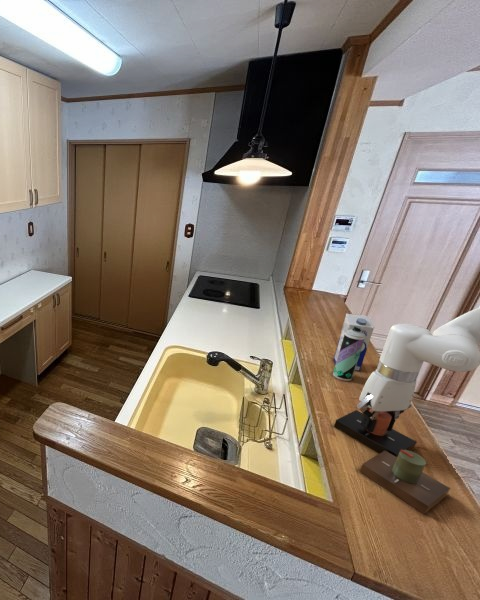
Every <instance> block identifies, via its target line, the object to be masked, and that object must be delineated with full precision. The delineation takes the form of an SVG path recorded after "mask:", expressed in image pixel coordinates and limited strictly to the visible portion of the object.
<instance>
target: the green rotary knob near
mask: <svg viewBox="0 0 480 600" xmlns="http://www.w3.org/2000/svg"><path fill="white" fill-rule="evenodd" d="M426 466H427V461H426V459H425V458H424V457H423V456H421V455H420V454H418V453H416V452H415V451H412V450H411V451H408V450H400V452H399V454H398V456H397V459H396V461H395V464H394V466H393V468H392V472H393V473H394V475H395V476H397V477H398V478H399V479H401V480H403V481H405V482H408V483H417V482H418V480H419V478H420V476H421V474H422V472H423V473H424V469H425V468H426Z"/></svg>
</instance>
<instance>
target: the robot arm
mask: <svg viewBox="0 0 480 600" xmlns="http://www.w3.org/2000/svg"><path fill="white" fill-rule="evenodd" d="M479 346H480V307H477V308H474V309H472V310H469V311H467V312H465V313H463V314H461V315H459V316H457V317H455V318H453V319H452V320H449V321H448V322H446V323H444V324H442V325H441V326H439V327H437V328H436V329H434V331H432V332H431V330H429V329H427V328H426V327H423V326H420V325H416V324H410V323H405V322H404V323H402V322H401V323H396V324H393V325H392V326H391V327H390V329H389V331H388V334H387V337H386V339H385V343H384V345H383V348H382V351H381V354H380V357H379V360H378V363H377V366H376V368H375V370H374V371H372V372H371V374H370V375H369V377H368V378H367V380H366V381H365V384H364V386H363V388H362V390H361V393H360V395H359V398H358V399H359V400H358V401H360V402H359V403H357V404H356V405H355V406H356V409H358V411H360V412H361V413H363V414H364V415H363V418H362V421H361V425H362V426H363V427H364V428H365V429H367V430H368V431H369V432H373V430H374V427H375V425H376V422H377V421H376V420H375V418H376V417H377V415H378V414H379V412H380V411H385V412H387V413H388V414H390V415H391V417H392V419H391V421H390V424H389V426H388V429H387V430H388V431H391V430H392V429H394V425H395V423H396V420H398V419H399V418H400V415H402V414H403V413H404V412H405V411H407V410H408V409H410V408H411V407H412V404H411V403H412V401H413V398H414V394H415V391H416V386H417V379H418V376H419V374H420V371H421V369H422V366H423V364H424V362H425V363H428V364H430V365H433V366H435V367H438V368H441V369H444V370H447V371H451V372H457V373H466V372H470V371H473V370H476V369H477V368H478V367H479V366H480V348H479ZM371 409H372V410H373V413H371V412H370V410H371Z"/></svg>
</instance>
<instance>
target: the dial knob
mask: <svg viewBox="0 0 480 600" xmlns="http://www.w3.org/2000/svg"><path fill="white" fill-rule="evenodd" d="M370 412H371V413H373V410H372V409H370ZM391 419H392V417H391V415H390V414H388V413H387V412H385V411H380V412H379V414H378V415H377V417H376V418H375V420H376V421H377V422H376V425H375V427H374V430H373V432H370V433H372V434H375V435H378V436H384V435H385V434H386V431H387V429H388V426H389V424H390V421H391ZM366 430H367V429H366ZM367 431H368V430H367Z"/></svg>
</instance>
